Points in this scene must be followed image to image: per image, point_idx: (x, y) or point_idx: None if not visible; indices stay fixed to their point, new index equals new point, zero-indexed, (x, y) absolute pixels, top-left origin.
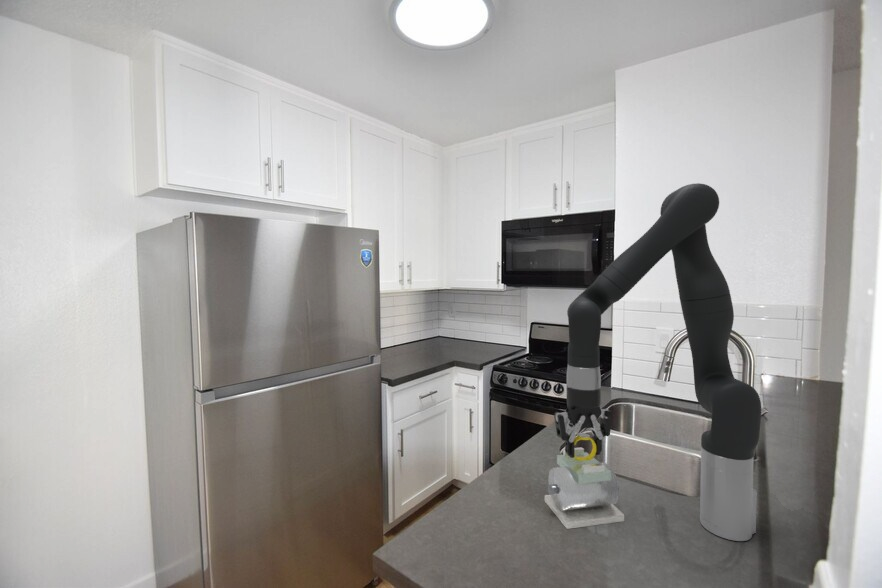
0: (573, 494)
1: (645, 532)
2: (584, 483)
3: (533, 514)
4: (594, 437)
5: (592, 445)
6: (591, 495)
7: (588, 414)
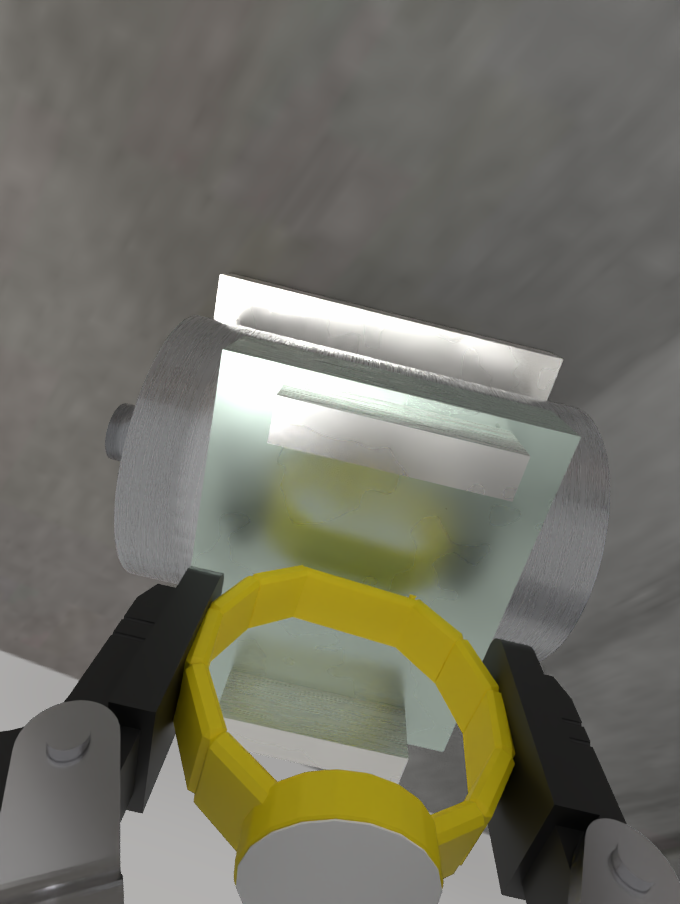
0: None
1: None
2: None
3: (108, 349)
4: (547, 842)
5: (488, 724)
6: None
7: None
